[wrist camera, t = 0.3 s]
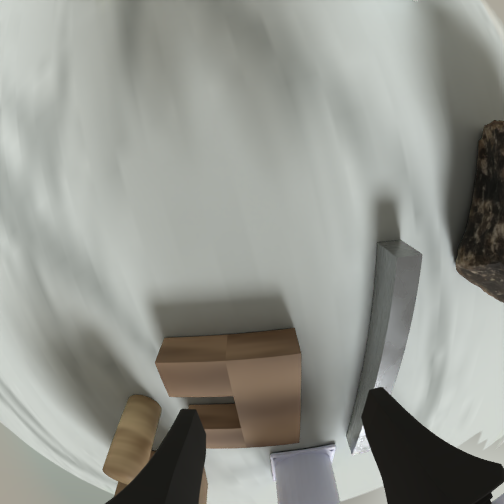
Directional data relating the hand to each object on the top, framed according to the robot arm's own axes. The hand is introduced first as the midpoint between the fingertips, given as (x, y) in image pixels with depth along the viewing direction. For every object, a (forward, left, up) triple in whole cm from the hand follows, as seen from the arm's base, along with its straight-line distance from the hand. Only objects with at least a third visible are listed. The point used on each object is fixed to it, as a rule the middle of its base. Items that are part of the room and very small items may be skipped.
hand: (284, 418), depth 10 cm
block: (-8, +3, -10) cm, 13 cm away
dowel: (-11, +13, -10) cm, 20 cm away
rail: (-8, -9, -10) cm, 16 cm away
